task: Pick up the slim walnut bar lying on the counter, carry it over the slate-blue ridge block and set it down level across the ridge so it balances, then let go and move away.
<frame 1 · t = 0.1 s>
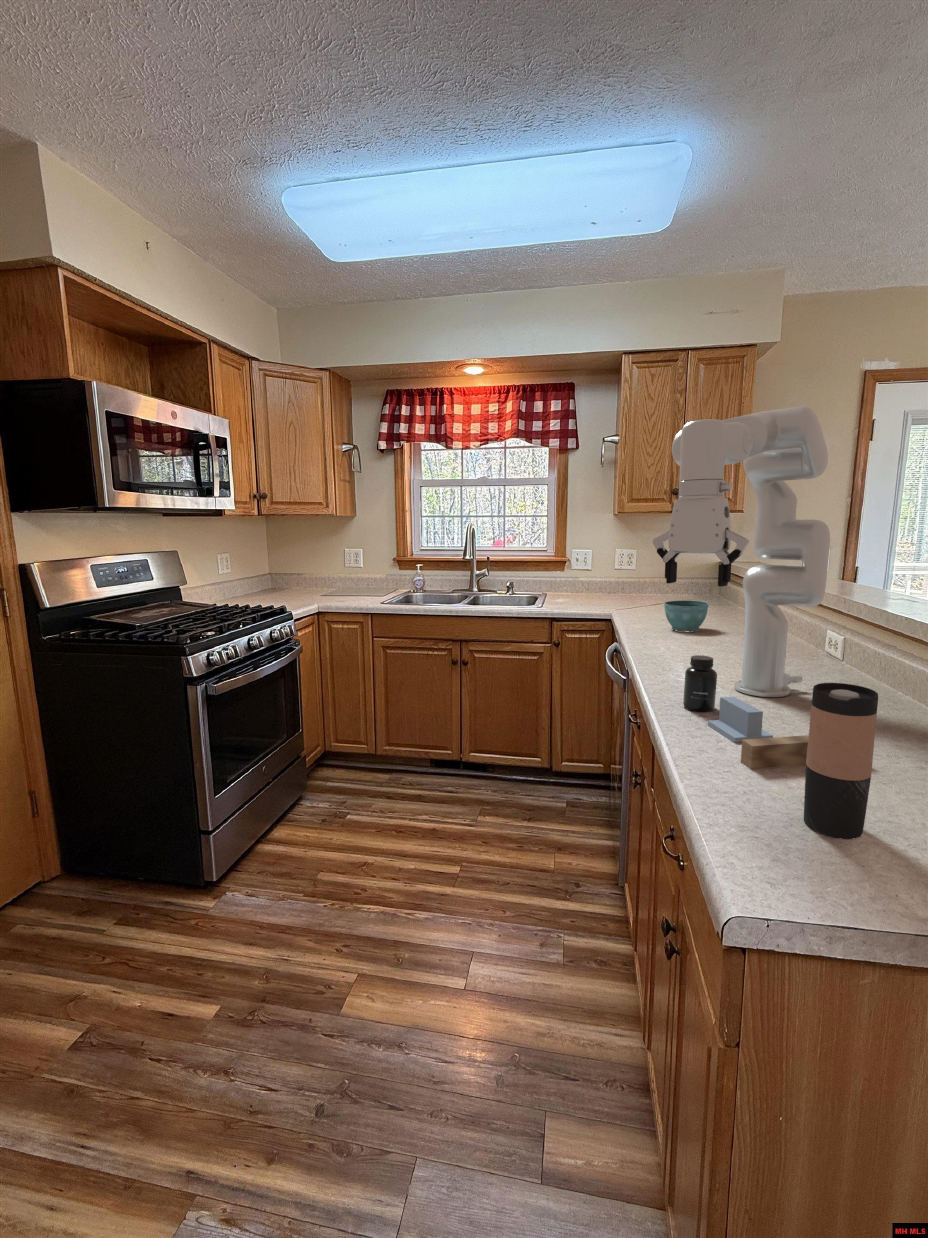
hand: (696, 584, 109), 31 cm above the worktop, tool pointing down, fingers open, 9 cm apart
supplement bottle: (699, 708, 134), on the worktop
walnut bar: (797, 763, 104), on the worktop
fulcrum: (738, 732, 118), on the worktop
travel mug: (832, 827, 82), on the worktop
teal bowl: (684, 630, 226), on the worktop
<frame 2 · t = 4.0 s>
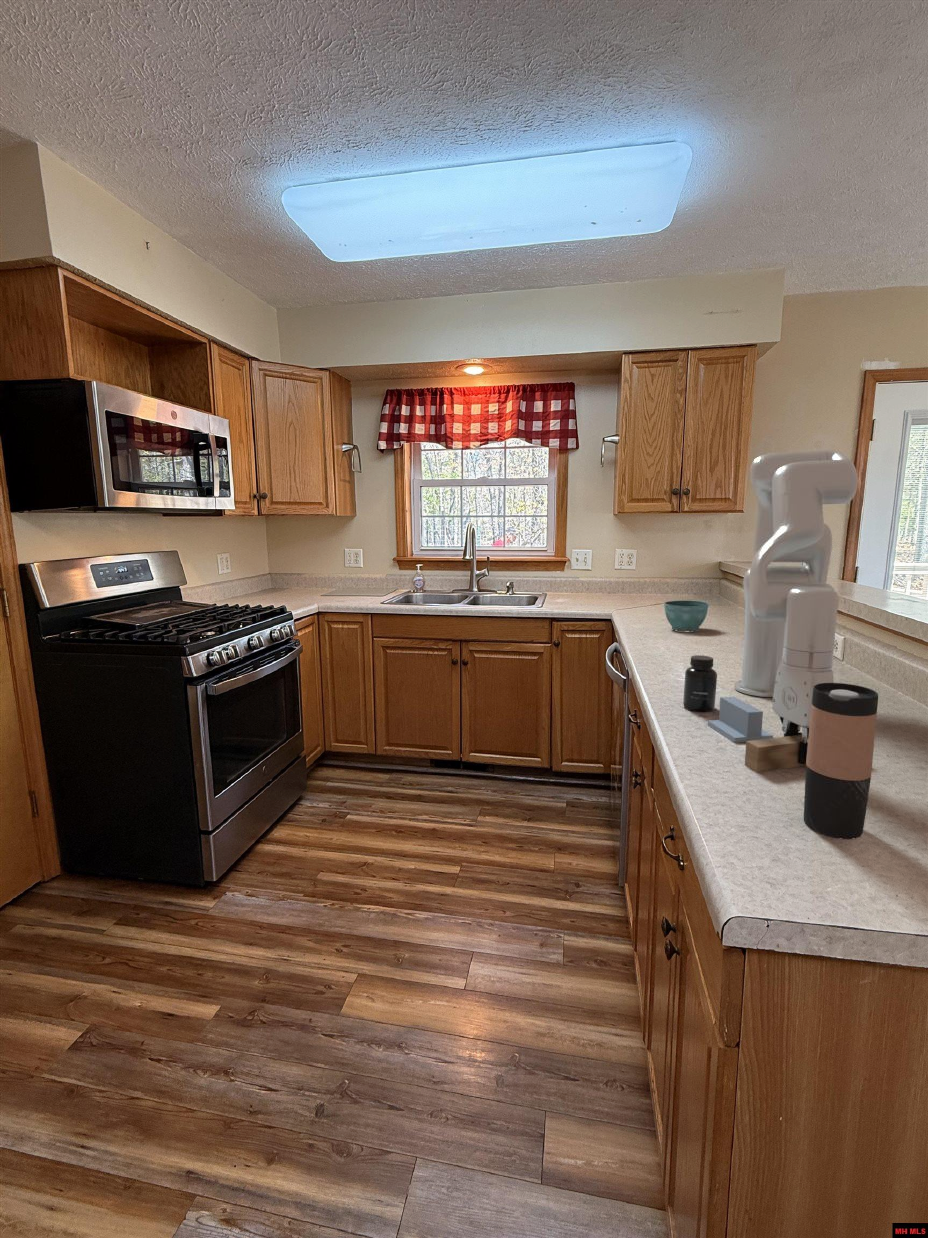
hand: (799, 757, 103), 1 cm above the worktop, tool pointing down, fingers closed on walnut bar, 3 cm apart
walnut bar: (798, 762, 103), on the worktop, touching gripper
everything else where it was.
when the fingers open (7 cm above the worktop, at t = 10.4 s): walnut bar stays where it is, resting on fulcrum.
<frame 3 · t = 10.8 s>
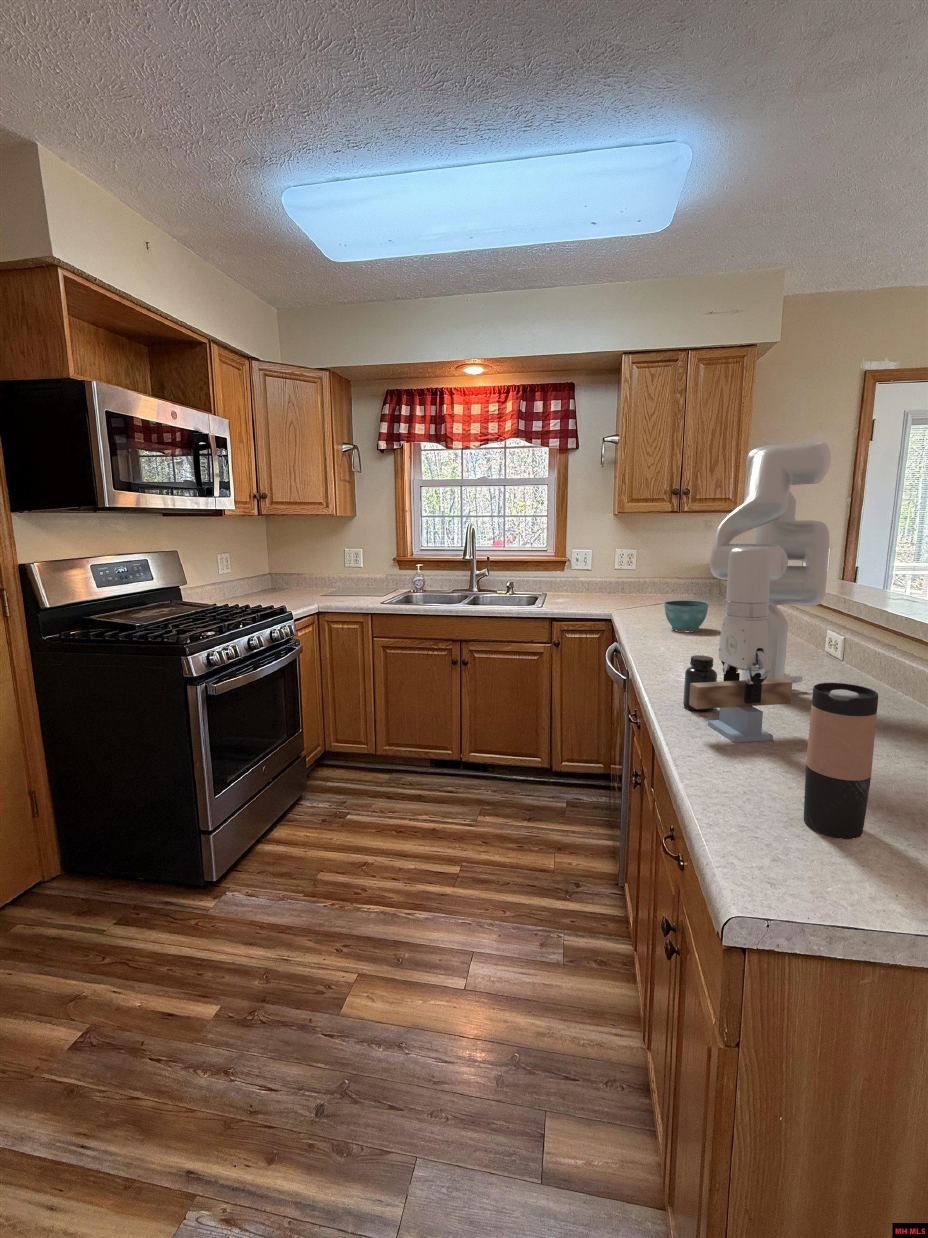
hand: (741, 696, 117), 8 cm above the worktop, tool pointing down, fingers open, 6 cm apart
walnut bar: (739, 704, 117), point 6 cm above the worktop, touching fulcrum
everything else where it was.
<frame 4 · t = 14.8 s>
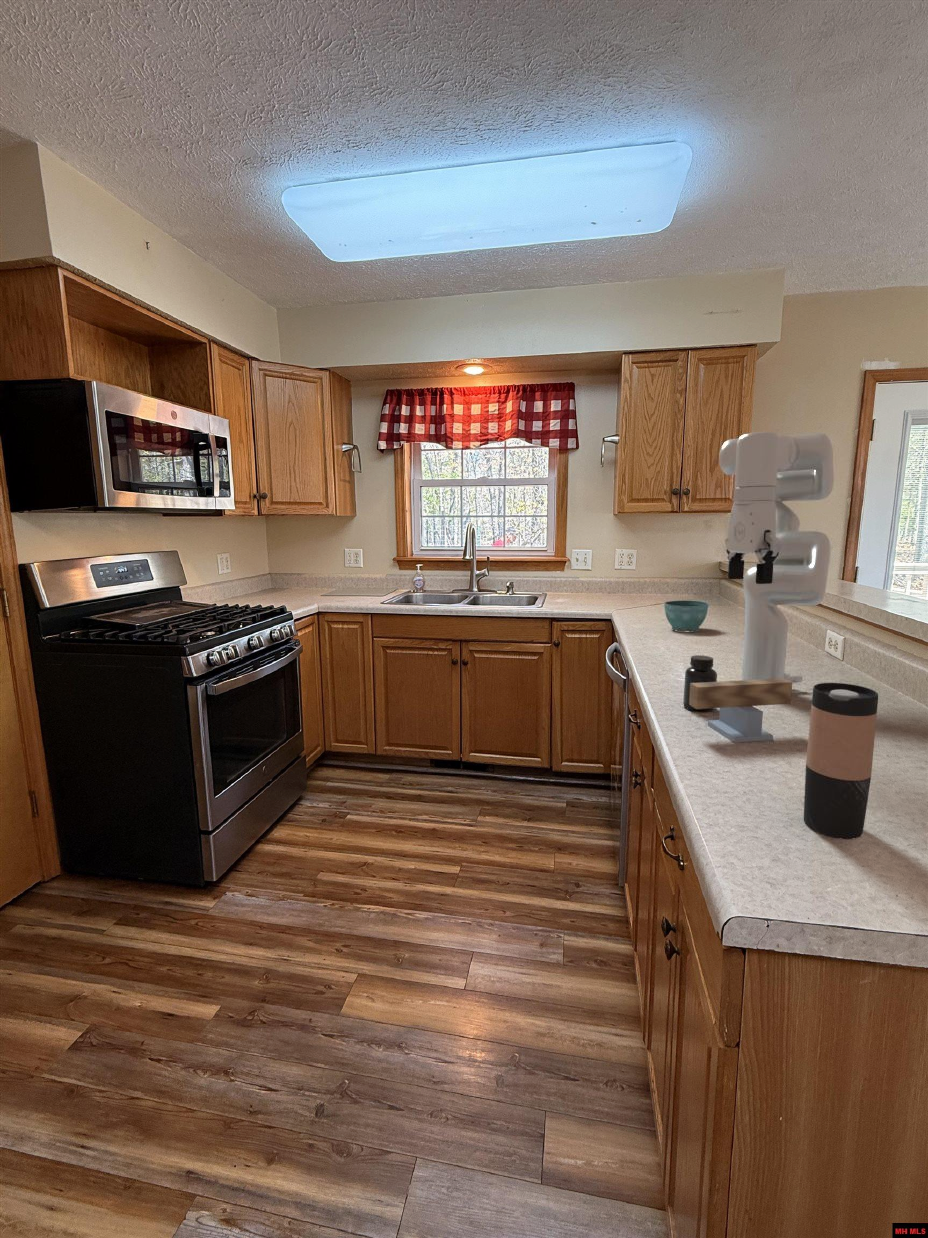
hand: (749, 581, 119), 30 cm above the worktop, tool pointing down, fingers open, 9 cm apart
nothing on the worktop moved.
at the end: walnut bar inside the target area on the fulcrum (0.2 cm from its centre), point 6.0 cm above the fulcrum's base; walnut bar tilted 0°; walnut bar touching fulcrum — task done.
